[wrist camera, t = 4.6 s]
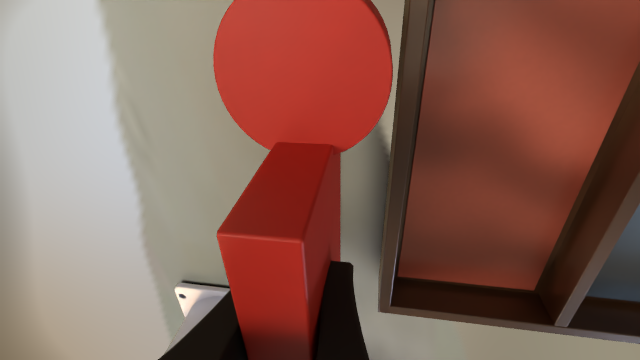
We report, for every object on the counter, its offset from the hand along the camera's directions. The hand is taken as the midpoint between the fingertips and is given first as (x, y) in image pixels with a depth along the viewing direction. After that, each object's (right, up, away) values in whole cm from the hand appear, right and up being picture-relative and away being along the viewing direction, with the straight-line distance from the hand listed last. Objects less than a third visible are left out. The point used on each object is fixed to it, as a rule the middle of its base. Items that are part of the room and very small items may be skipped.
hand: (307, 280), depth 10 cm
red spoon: (0, +3, +1) cm, 3 cm away
